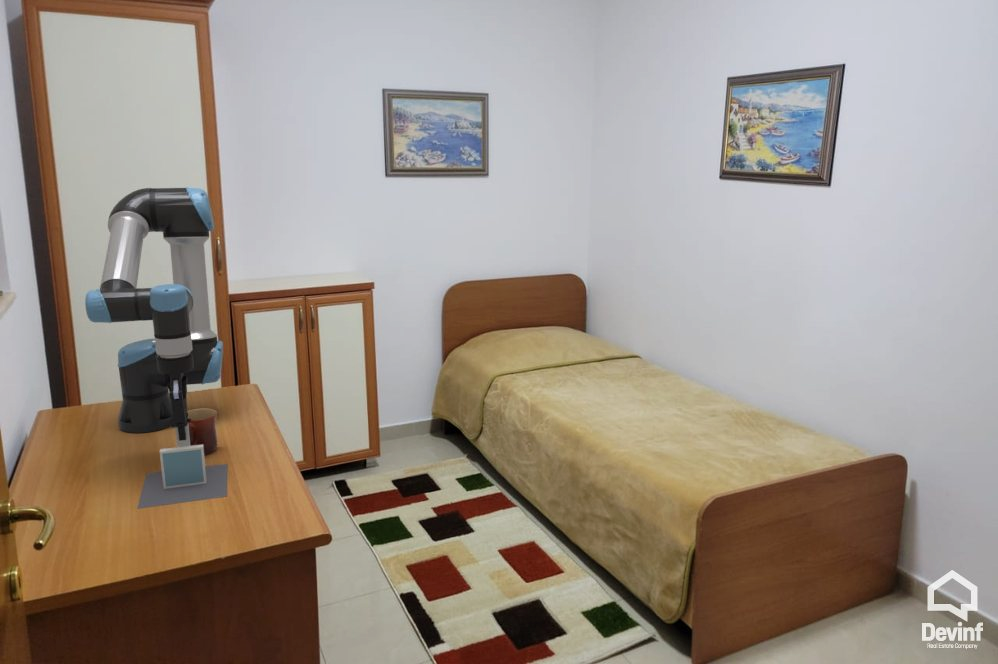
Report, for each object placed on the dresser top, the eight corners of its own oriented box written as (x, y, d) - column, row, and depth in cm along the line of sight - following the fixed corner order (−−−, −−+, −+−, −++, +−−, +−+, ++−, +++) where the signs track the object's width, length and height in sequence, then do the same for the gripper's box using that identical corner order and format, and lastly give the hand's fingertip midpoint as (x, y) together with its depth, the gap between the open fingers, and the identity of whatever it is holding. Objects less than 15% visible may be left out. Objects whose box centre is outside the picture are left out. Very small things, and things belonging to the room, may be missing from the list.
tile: (164, 485, 165) (160, 449, 163) (206, 480, 168) (203, 444, 166) (163, 488, 164) (159, 451, 162) (206, 483, 167) (203, 447, 164)
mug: (197, 443, 190) (193, 406, 187) (227, 446, 188) (224, 409, 186) (168, 462, 178) (163, 423, 176) (200, 466, 177) (196, 426, 174)
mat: (146, 475, 171) (146, 473, 171) (227, 465, 177) (227, 463, 177) (137, 510, 155) (137, 508, 155) (227, 498, 161) (226, 496, 161)
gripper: (159, 347, 168) (169, 442, 174) (153, 362, 156) (164, 464, 162) (194, 345, 171) (202, 438, 176) (190, 360, 159) (200, 460, 164)
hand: (184, 451), depth 169 cm, fingers closed
